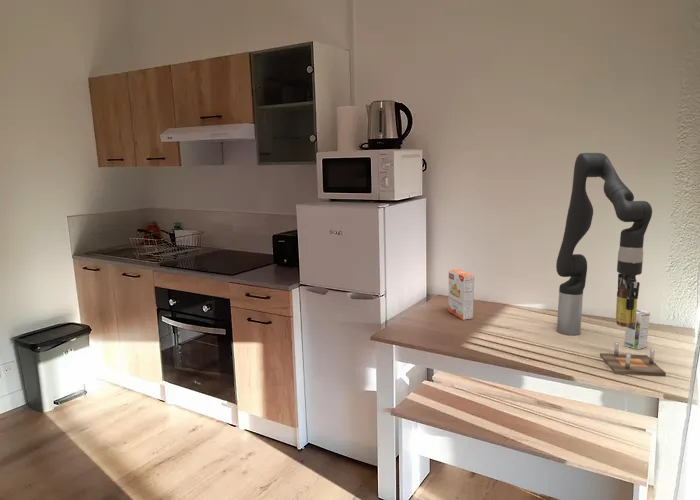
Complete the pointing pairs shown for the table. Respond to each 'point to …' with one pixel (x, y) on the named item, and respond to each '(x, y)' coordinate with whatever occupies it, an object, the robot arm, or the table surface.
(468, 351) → the table surface
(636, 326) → the syrup box
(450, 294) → the cracker box
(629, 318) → the sauce bottle
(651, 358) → the metal pins
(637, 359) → the board
